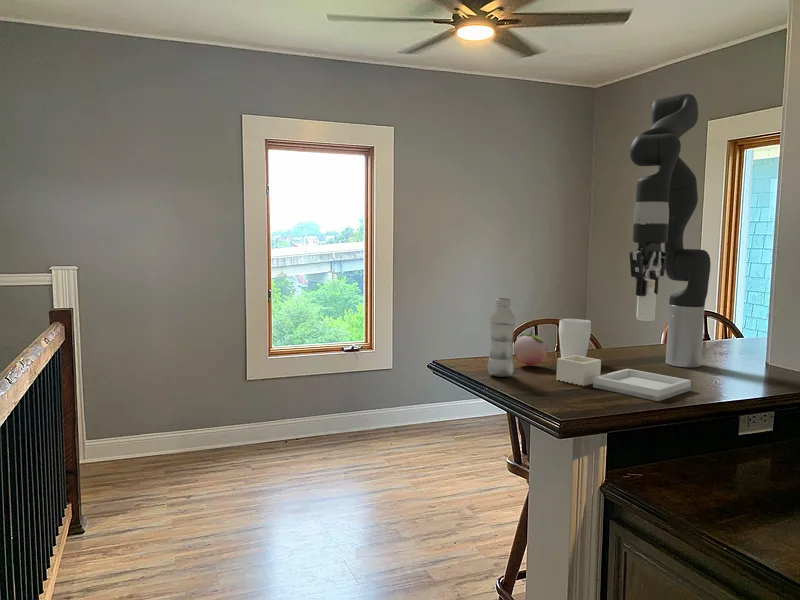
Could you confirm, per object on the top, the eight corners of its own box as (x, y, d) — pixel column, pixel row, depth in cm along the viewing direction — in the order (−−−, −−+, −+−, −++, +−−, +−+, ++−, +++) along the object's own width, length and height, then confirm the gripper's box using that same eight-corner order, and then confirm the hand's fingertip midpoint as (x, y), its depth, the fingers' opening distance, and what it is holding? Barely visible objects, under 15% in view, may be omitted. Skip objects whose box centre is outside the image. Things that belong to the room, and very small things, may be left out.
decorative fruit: (506, 365, 168) (507, 330, 167) (526, 362, 172) (527, 327, 171) (532, 371, 160) (533, 334, 159) (552, 368, 165) (553, 332, 164)
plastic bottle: (491, 372, 158) (494, 297, 156) (516, 375, 155) (519, 298, 153) (483, 377, 152) (486, 298, 150) (509, 380, 149) (512, 300, 147)
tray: (626, 378, 154) (627, 368, 154) (690, 390, 142) (690, 380, 142) (593, 387, 144) (593, 376, 143) (658, 401, 132) (659, 390, 131)
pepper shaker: (636, 318, 144) (638, 279, 143) (654, 319, 143) (656, 279, 142) (636, 320, 140) (638, 279, 139) (654, 321, 139) (657, 280, 138)
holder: (573, 376, 155) (574, 355, 155) (599, 381, 150) (601, 359, 149) (556, 380, 150) (557, 358, 150) (583, 385, 145) (584, 363, 144)
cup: (591, 365, 170) (593, 323, 169) (558, 363, 172) (560, 321, 170) (587, 359, 179) (589, 319, 177) (556, 357, 180) (558, 318, 179)
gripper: (650, 223, 147) (646, 292, 148) (619, 221, 137) (616, 295, 139) (681, 223, 141) (676, 295, 143) (651, 221, 132) (647, 298, 133)
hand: (646, 295), depth 141 cm, fingers closed on pepper shaker, 5 cm apart
